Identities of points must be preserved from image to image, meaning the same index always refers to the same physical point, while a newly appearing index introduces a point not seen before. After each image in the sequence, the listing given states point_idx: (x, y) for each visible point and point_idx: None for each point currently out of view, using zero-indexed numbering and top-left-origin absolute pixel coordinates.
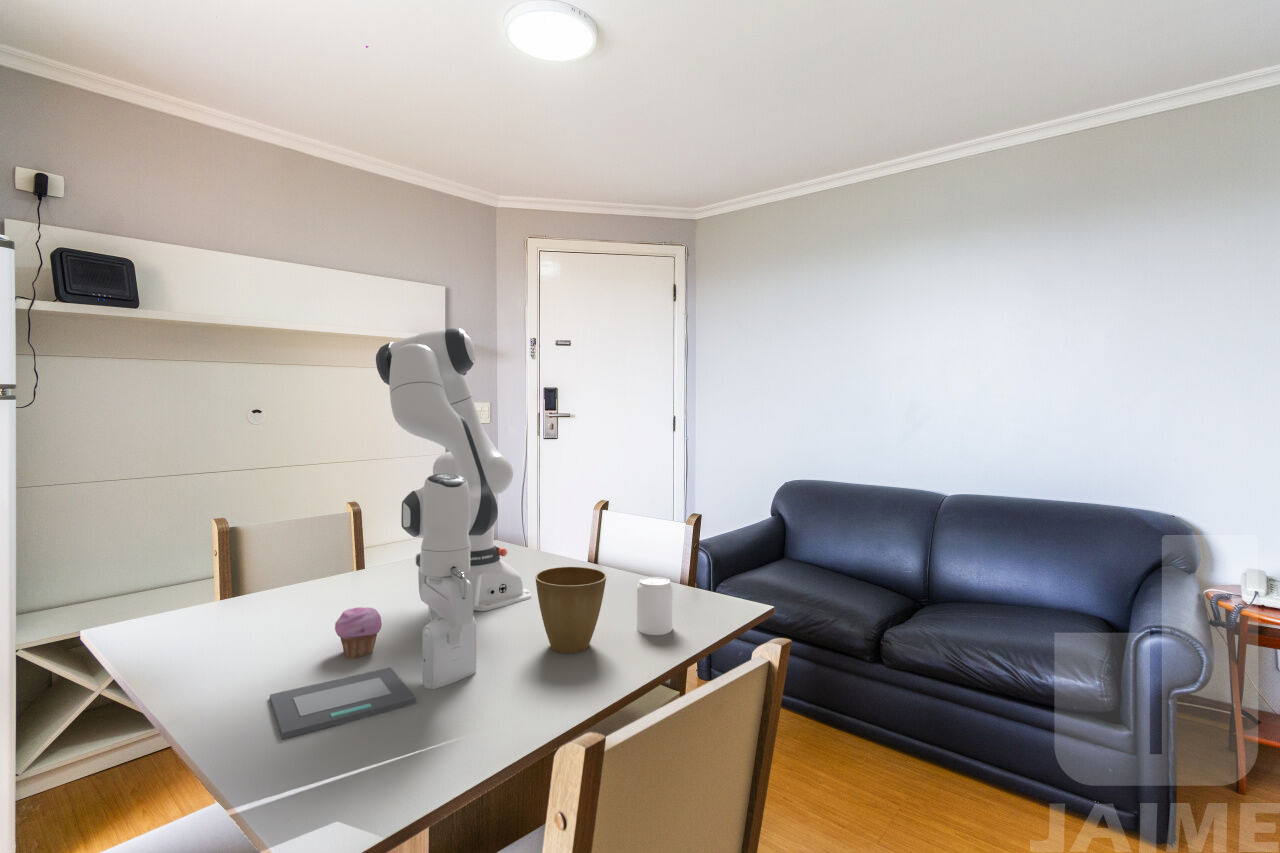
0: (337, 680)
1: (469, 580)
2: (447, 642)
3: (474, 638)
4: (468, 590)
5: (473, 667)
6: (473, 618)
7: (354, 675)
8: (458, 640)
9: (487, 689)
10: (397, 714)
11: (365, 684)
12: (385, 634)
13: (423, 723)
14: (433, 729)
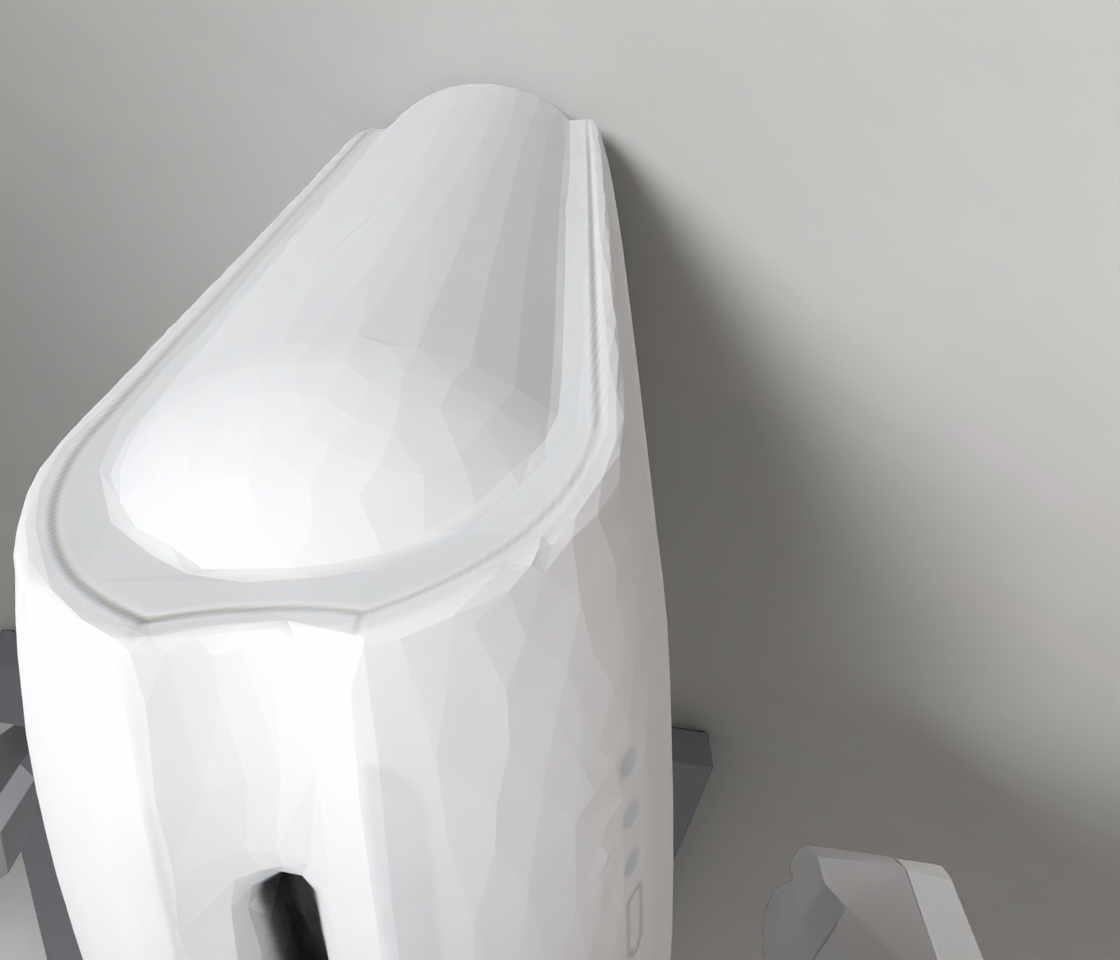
0: (59, 916)
1: None
2: (770, 941)
3: (627, 330)
4: None
5: (613, 189)
6: (565, 609)
7: (23, 847)
8: (957, 919)
9: (1010, 240)
10: (740, 835)
11: None
12: None
13: (983, 802)
14: (1103, 801)
